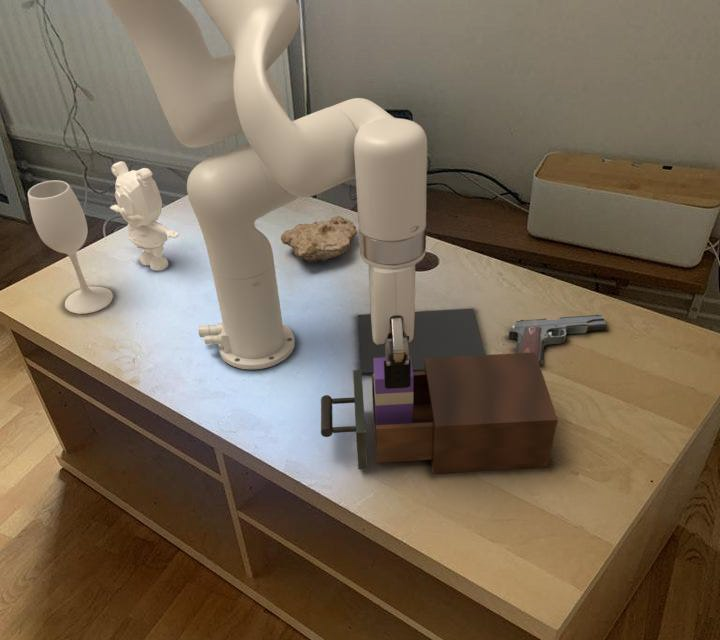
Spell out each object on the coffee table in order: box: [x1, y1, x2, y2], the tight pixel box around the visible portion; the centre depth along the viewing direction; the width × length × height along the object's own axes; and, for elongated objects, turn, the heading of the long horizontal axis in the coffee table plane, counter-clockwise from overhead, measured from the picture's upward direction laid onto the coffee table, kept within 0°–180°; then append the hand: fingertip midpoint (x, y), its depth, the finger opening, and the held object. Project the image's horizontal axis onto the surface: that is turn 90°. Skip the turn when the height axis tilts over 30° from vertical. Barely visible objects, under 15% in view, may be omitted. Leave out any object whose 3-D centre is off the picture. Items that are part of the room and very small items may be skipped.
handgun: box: [507, 314, 607, 365], centre depth 117 cm, size 17×11×2 cm, turn 95°
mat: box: [357, 308, 485, 376], centre depth 120 cm, size 20×16×1 cm
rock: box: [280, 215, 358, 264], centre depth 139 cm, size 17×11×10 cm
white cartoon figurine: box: [109, 160, 180, 271], centre depth 133 cm, size 8×20×19 cm, turn 49°
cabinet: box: [424, 352, 559, 474], centre depth 101 cm, size 16×14×9 cm
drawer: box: [320, 369, 434, 470], centre depth 101 cm, size 19×13×7 cm
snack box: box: [373, 356, 414, 425], centre depth 98 cm, size 5×4×11 cm
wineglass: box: [27, 179, 114, 315], centre depth 125 cm, size 9×9×21 cm
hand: (394, 363), depth 94 cm, fingers open, 9 cm apart
